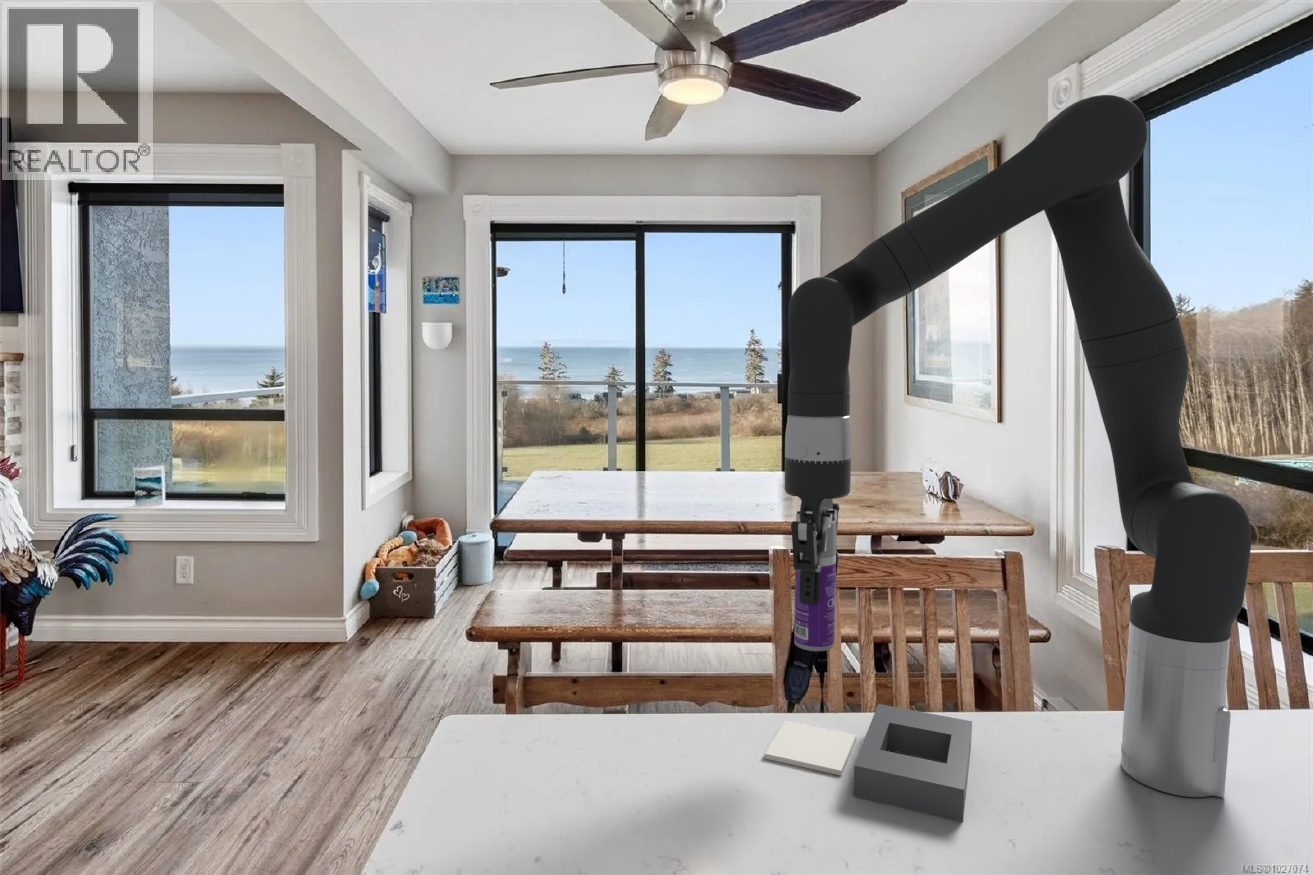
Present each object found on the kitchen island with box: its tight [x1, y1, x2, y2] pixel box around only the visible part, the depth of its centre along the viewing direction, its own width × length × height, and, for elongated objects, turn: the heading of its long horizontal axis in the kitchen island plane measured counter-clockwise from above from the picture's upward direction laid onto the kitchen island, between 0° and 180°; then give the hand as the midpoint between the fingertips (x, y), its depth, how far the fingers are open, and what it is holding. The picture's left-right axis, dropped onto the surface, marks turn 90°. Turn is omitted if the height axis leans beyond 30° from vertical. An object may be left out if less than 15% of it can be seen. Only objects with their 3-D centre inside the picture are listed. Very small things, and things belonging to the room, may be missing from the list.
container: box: [793, 520, 837, 652], centre depth 90 cm, size 5×5×15 cm
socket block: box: [852, 703, 973, 823], centre depth 87 cm, size 11×16×4 cm
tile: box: [764, 720, 857, 776], centre depth 92 cm, size 9×9×1 cm
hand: (815, 596), depth 90 cm, fingers closed on container, 4 cm apart
